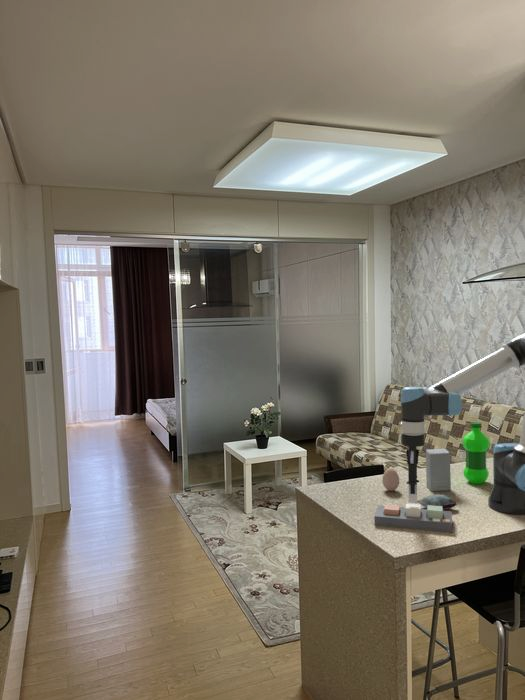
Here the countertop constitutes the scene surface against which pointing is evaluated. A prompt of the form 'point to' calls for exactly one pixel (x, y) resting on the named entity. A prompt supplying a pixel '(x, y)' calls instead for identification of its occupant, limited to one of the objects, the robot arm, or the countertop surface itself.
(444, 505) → the packaged food
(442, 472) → the skincare box
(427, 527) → the keypad board
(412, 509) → the cream key
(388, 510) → the terracotta key
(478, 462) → the plastic bottle
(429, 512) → the sage key
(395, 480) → the egg
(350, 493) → the countertop surface
